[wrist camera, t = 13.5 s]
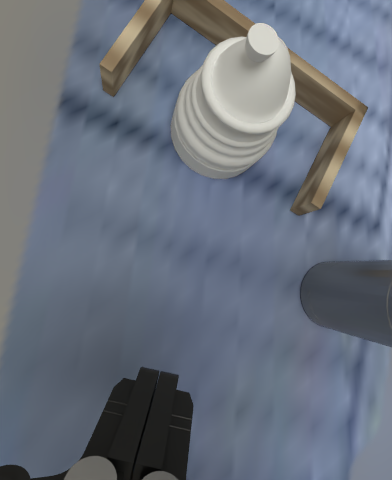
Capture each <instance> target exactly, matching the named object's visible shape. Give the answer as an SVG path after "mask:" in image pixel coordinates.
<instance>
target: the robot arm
mask: <svg viewBox="0 0 392 480" xmlns="http://www.w3.org/2000/svg"><path fill="white" fill-rule="evenodd" d="M301 301H302V305H303V308H304V310H305V312H306V314H307V315H308V317H309V318H310V319H311V320H312V321H313V322H315V323H316V324H318V325H320V326H323V327H326V328H330V329H333V330H336V331H340V332H342V333H346V334H349V335H352V336H356V337H359V338H362V339H366V340H369V341H372V342H376V343H379V344H382V345H386V346H389V347H392V260H376V261H338V262H323V263H320V264H317V265H316V266H314V267H312V268H311V269H310V270H309V271H308V273H307V274H306V276H305V277H304V280H303V282H302V286H301ZM158 376H159V371H158V370H154V369H149V368H145V367H141V368H140V371H139V373H138V376H137V379H136V381H135V380H130V379H126V378H123V379H122V380H121V381H120V382H119V383H118V384H117V385H116V386H115V387H114V388H113V390H112V392H111V395H110V397H109V399H108V402H107V403H106V406H105V408H104V410H103V412H102V414H101V417H100V419H99V421H98V423H97V425H96V428H95V430H94V432H93V434H92V437H91V439H90V441H89V443H88V445H87V448H86V450H85V452H84V454H83V456H82V457H81V459H80V460H79V461H78V462H77V463H76V464H74V465H73V466H72V467H71V468H70V469H69V470H67V471H65V472H63V473H61V474H58V475H54V476H48V477H40V478H33V479H30V476H29V474H28V472H27V471H26V470H25V469H24V468H22V467H21V466H17V465H5V466H1V467H0V480H186V471H187V462H188V452H189V443H190V432H191V424H192V415H193V403H192V400H191V397H190V394H189V393H188V392H183V391H179V390H176V388H177V382H178V377H179V375H176V374H172V373H167V372H163V371H161V372H160V376H159V379H158ZM157 380H158V383H157ZM156 385H157V387H156Z"/></svg>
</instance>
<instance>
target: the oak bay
mask: <svg viewBox="0 0 392 480" xmlns="http://www.w3.org/2000/svg"><path fill="white" fill-rule="evenodd" d="M171 13H172V14H173V15H175V16H176V17H177V18H179V19H180V20H182V21H183V22H184V23H186V24H187V25H189V26H190V27H191V28H193V29H194V30H196V31H197V32H198V33H200V34H201V35H203V36H204V37H205V38H207V39H208V40H210V41H211V42H213V43H214V44H215V45H218V44H219V43H221V42H223V41H225V40H227V39H229V38H235V37H247V34H248V32H249V30H250V28H251V27H252V26H253V25H255V23H254V22H252V21H251V20H250V19H248V18H247V17H245V16H244V15H243V14H241V13H240V12H239V11H237V10H236V9H235V8H233V7H232V6H231V5H229V4H228V3H227V2H225V1H224V0H145V1H144V3H143V4H142V5H141V7H140V8H139V10H138V11H137V12H136V14H135V15H134V17H133V18H132V19H131V21H130V22H129V24H128V25H127V26H126V28H125V29H124V31H123V32H122V33H121V35H120V36H119V38H118V39H117V40H116V42H115V43H114V45H113V46H112V47H111V49H110V50H109V52H108V53H107V54H106V56H105V57H104V59H103V60H102V61H101V63H100V71H101V78H102V86H103V91H105V92H107V93H108V94H110V95H111V96H113V97H114V96H115V94H116V93H117V91H118V90H119V88H120V87H121V86H122V84H123V83H124V81H125V80H126V78H127V77H128V75H129V74H130V72H131V71H132V69H133V68H134V67H135V65H136V64H137V62H138V61H139V59H140V58H141V56H142V55H143V53H144V52H145V50H146V49H147V47H148V46H149V45H150V43H151V42H152V40H153V39H154V37H155V36H156V34H157V33H158V31H159V30H160V28H161V27H162V26H163V24H164V23H165V21H166V20H167V18H168V17H169V15H170V14H171ZM287 49H288V52H289V55H290V61H291V72H292V75H293V78H294V81H295V92H296V96H295V102H297V103H298V104H300V105H301V106H302V107H304V108H305V109H307V110H308V111H309V112H311V113H312V114H314V115H315V116H316V117H318V118H319V119H321V120H322V121H323V122H325V123H326V124H328V125H329V126H330V127H331V128H330V130H329V132H328V134H327V136H326V138H325V140H324V142H323V144H322V146H321V148H320V150H319V152H318V154H317V156H316V158H315V160H314V163H313V165H312V167H311V169H310V171H309V173H308V175H307V177H306V179H305V181H304V183H303V185H302V187H301V189H300V191H299V193H298V195H297V197H296V199H295V201H294V203H293V205H292V207H291V209H290V211H292V212H294V213H295V214H297V215H298V216H299V215H302V214H306V213H309V212H312V211H316V210H319V209H321V207H322V205H323V203H324V201H325V199H326V197H327V194H328V192H329V190H330V188H331V186H332V184H333V182H334V179H335V177H336V175H337V173H338V171H339V169H340V167H341V164H342V162H343V160H344V158H345V156H346V154H347V152H348V150H349V147H350V145H351V143H352V141H353V139H354V137H355V135H356V132H357V130H358V128H359V126H360V124H361V122H362V120H363V117H364V115H365V113H366V111H367V109H368V107H367V106H365V105H364V104H363V103H361V102H360V101H359V100H357V99H356V98H355V97H353V96H352V95H351V94H349V93H348V92H346V91H345V90H344V89H342V88H341V87H340V86H338V85H337V84H336V83H334V82H333V81H332V80H330V79H329V78H328V77H326V76H325V75H324V74H322V73H321V72H320V71H318V70H317V69H316V68H314V67H313V66H311V65H310V64H309V63H307V62H306V61H305V60H303V59H302V58H301V57H299V56H298V55H297V54H295V53H294V52H293V51H291V50H290V49H289V48H287Z"/></svg>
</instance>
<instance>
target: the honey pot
mask: <svg viewBox="0 0 392 480" xmlns="http://www.w3.org/2000/svg"><path fill="white" fill-rule="evenodd" d="M295 96H296V92H295V81H294V78H293V75H292V72H291V61H290V55H289V52H288V49H287V46H286V45H285V43H284V42H283V41H282V40H281V39H280V38H279V37H278V35H277V33H276V32H275V30H274V29H273V28H272V27H270V26H269V25H267V24H263V23H257V24H255V25H253V26H252V27H251V28H250V30H249V32H248V34H247V37H235V38H229V39H227V40H225V41H223V42H221V43H219V44H218V45H217V46H215V47H214V48H213V49H212V50H211V51H210V52H209V54H208V56H207V58H206V59H205V61H204V64H203V65H202V66H201V67H200V69H199V70H197V71H196V72H195V73H194V74H193V75H192V76H191V77H189V78H188V79H187V81H186V82H185V84H184V86H183V87H182V89H181V91H180V93H179V97H178V100H177V103H176V106H175V109H174V113H173V117H172V121H171V138H172V141H173V144H174V148H175V150H176V152H177V153H178V155H179V156H180V158H181V160H182V161H183V162H184V163H185V164H186V165H187V166H188V167H189V168H190V169H192V170H194V171H195V172H197V173H199V174H200V175H202V176H206V177H209V178H213V179H227V178H231V177H235V176H238V175H239V174H241V173H243V172H244V171H246V170H247V169H248V168H250V167H251V166H252V165H253V164H254V163H256V162H257V161H258V160H259V159H260V158H262V157H263V155H264V154H265V153H266V152H267V151H268V150H269V149H270V147H271V145H272V143H273V141H274V139H275V137H276V134H277V130H278V128H279V126H281V125H282V124H283V122H284V121H285V120H286V119H287V118H288V117H289V115H290V113H291V111H292V109H293V107H294V101H295Z"/></svg>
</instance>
